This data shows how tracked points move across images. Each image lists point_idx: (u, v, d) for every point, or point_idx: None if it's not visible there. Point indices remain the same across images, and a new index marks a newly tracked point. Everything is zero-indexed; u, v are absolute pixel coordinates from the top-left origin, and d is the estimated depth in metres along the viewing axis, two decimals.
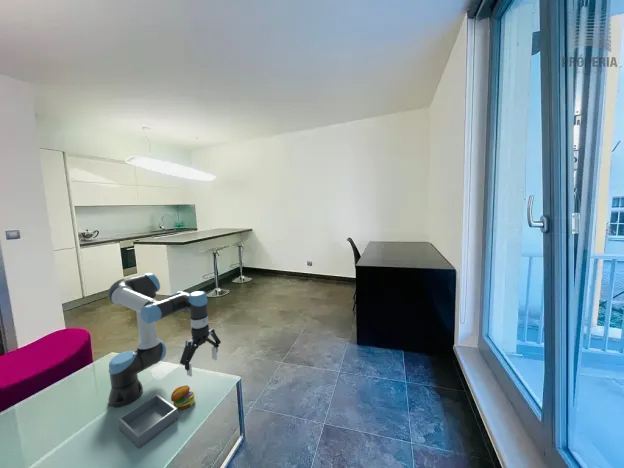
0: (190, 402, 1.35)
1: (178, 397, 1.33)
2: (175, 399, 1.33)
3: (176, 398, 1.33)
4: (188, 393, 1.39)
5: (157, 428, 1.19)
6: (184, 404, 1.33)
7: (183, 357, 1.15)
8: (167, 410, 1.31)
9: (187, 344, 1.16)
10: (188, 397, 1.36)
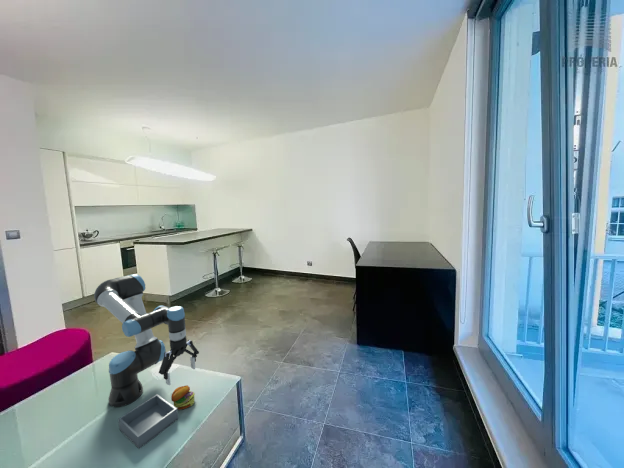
0: (190, 402, 1.35)
1: (178, 397, 1.33)
2: (175, 399, 1.33)
3: (176, 398, 1.33)
4: (188, 393, 1.39)
5: (157, 428, 1.19)
6: (184, 404, 1.33)
7: (162, 367, 1.26)
8: (167, 410, 1.31)
9: (165, 355, 1.27)
10: (188, 397, 1.36)
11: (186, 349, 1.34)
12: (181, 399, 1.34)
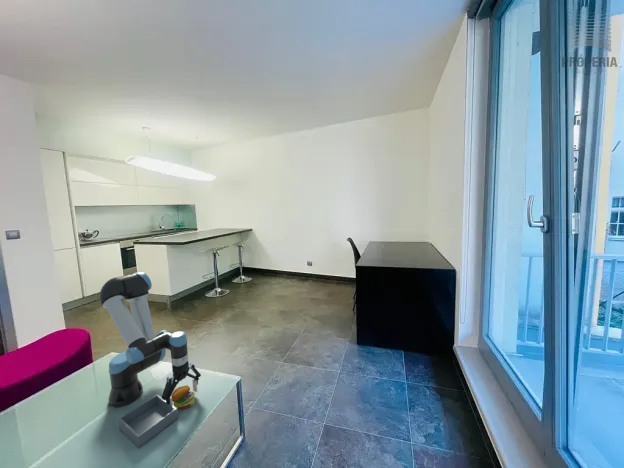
0: (190, 402, 1.35)
1: (178, 397, 1.33)
2: (175, 399, 1.33)
3: (176, 398, 1.33)
4: (188, 393, 1.39)
5: (157, 428, 1.19)
6: (184, 404, 1.33)
7: (164, 393, 1.28)
8: (167, 410, 1.31)
9: (168, 381, 1.29)
10: (188, 397, 1.36)
11: (188, 373, 1.37)
12: (181, 399, 1.34)
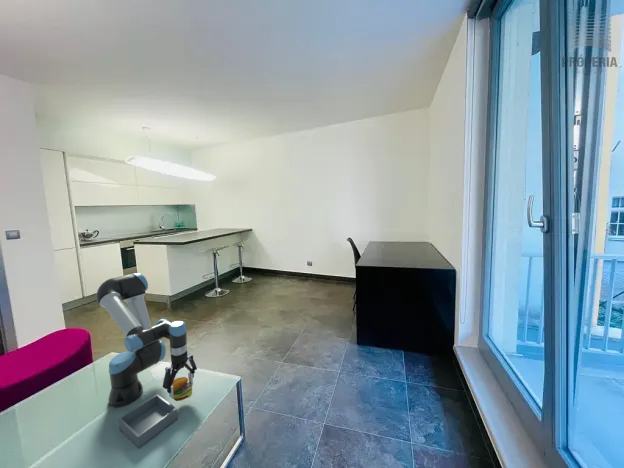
0: (188, 394, 1.34)
1: (176, 388, 1.32)
2: (173, 390, 1.32)
3: (174, 389, 1.32)
4: (186, 385, 1.38)
5: (157, 428, 1.19)
6: (182, 396, 1.33)
7: (165, 382, 1.28)
8: (167, 410, 1.31)
9: (167, 371, 1.28)
10: (186, 389, 1.36)
11: (186, 364, 1.36)
12: (179, 390, 1.34)
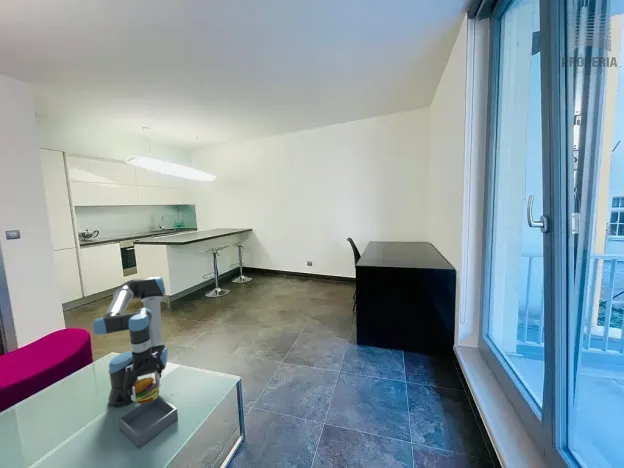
0: (153, 396, 1.20)
1: (138, 390, 1.18)
2: (135, 392, 1.18)
3: (136, 391, 1.18)
4: (152, 386, 1.24)
5: (157, 428, 1.19)
6: (145, 398, 1.18)
7: (124, 383, 1.14)
8: (167, 410, 1.31)
9: (126, 370, 1.14)
10: (151, 390, 1.21)
11: (151, 362, 1.21)
12: (142, 392, 1.19)
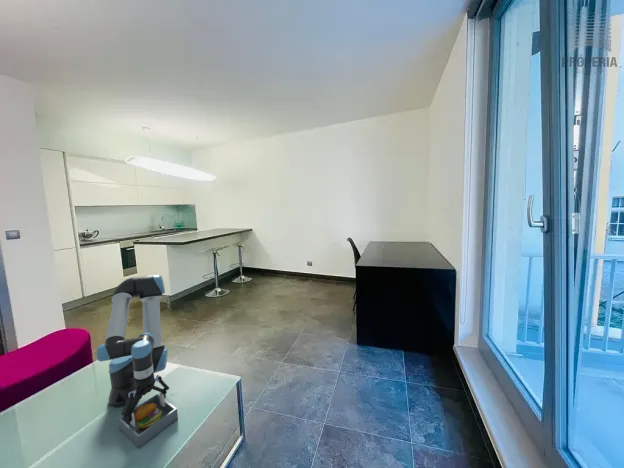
0: (155, 422, 1.22)
1: (141, 417, 1.20)
2: (138, 419, 1.20)
3: (139, 418, 1.20)
4: (154, 411, 1.26)
5: (157, 428, 1.19)
6: (148, 424, 1.20)
7: (125, 409, 1.15)
8: (167, 410, 1.31)
9: (129, 396, 1.16)
10: (154, 416, 1.23)
11: (154, 386, 1.24)
12: (145, 419, 1.22)
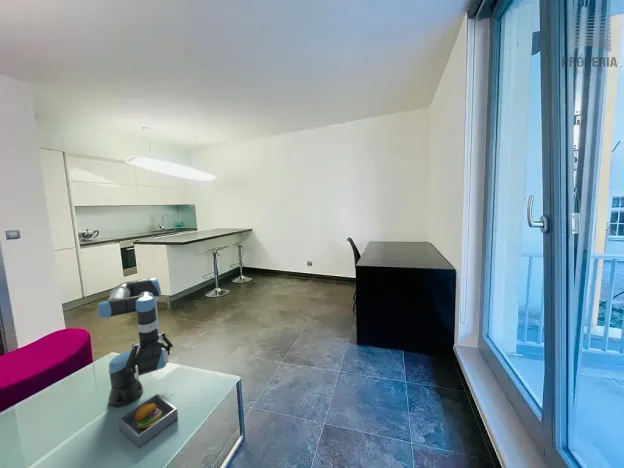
0: (155, 422, 1.22)
1: (142, 417, 1.20)
2: (138, 419, 1.20)
3: (139, 418, 1.20)
4: (154, 411, 1.26)
5: (157, 428, 1.19)
6: (148, 424, 1.20)
7: (129, 360, 1.18)
8: (167, 410, 1.31)
9: (133, 348, 1.18)
10: (154, 416, 1.23)
11: (157, 342, 1.26)
12: (145, 419, 1.22)
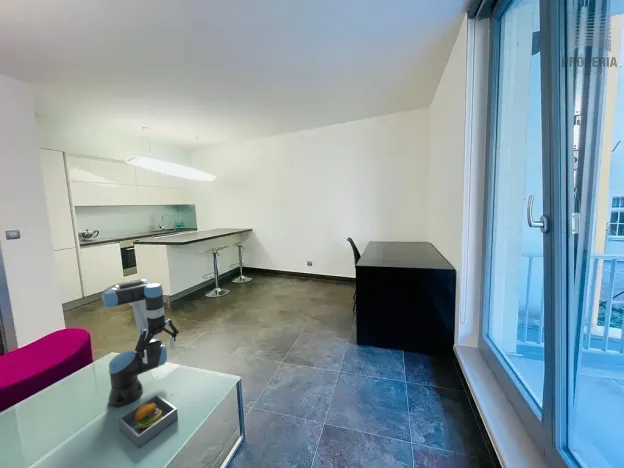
0: (155, 422, 1.22)
1: (142, 417, 1.20)
2: (138, 419, 1.20)
3: (139, 418, 1.20)
4: (154, 411, 1.26)
5: (157, 428, 1.19)
6: (148, 425, 1.20)
7: (138, 345, 1.22)
8: (167, 410, 1.31)
9: (142, 333, 1.23)
10: (154, 416, 1.23)
11: (164, 328, 1.31)
12: (145, 419, 1.22)
